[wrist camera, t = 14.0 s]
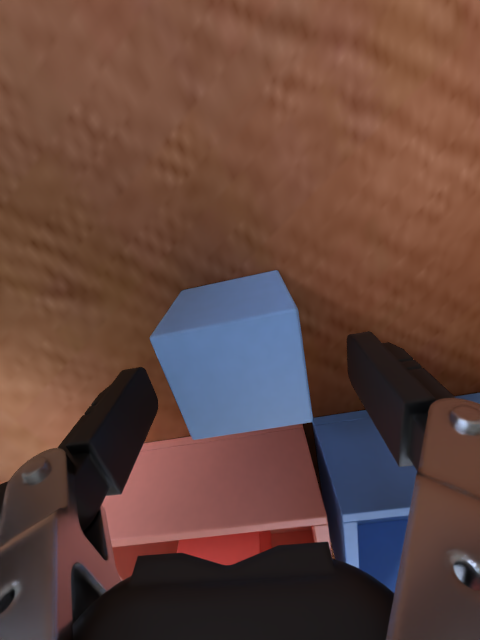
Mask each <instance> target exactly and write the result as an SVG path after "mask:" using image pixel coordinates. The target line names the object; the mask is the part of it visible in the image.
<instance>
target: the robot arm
mask: <svg viewBox="0 0 480 640" xmlns="http://www.w3.org/2000/svg"><path fill="white" fill-rule="evenodd" d="M347 363H348V375H349V379H350V382H351V384H352V386H353V388H354V390H355V392H356V393H357V395H358V397H359V398H360V400H361V402H362V404H363V405H364V407H365V409H366V411H367V412H368V414H369V416H370V417H371V419H372V421H373V423H374V424H375V426H376V428H377V430H378V431H379V433H380V435H381V436H382V438H383V440H384V442H385V443H386V445H387V447H388V449H389V450H390V452H391V454H392V455H393V457H394V459H395V461H396V462H397V464H398V466H399V467H404V466H414V467H415V469H416V470H417V474H416V478H415V483H414V489H413V494H412V500H411V505H410V511H409V516H408V522H407V527H406V533H405V538H404V543H403V549H402V554H401V560H400V565H399V571H398V576H397V582H396V587H395V593H393V592H392V591H391V590H390V589H389V588H388V587H387V586H385V585H384V584H382V583H381V582H380V581H378V580H377V579H375V578H374V577H373V576H371V575H370V574H368V573H366V572H364V571H362V570H361V569H359V568H357V567H355V566H352V565H350V564H348V563H345V562H342V561H339V560H335V559H332V555H331V551H330V547H329V543H328V542H315V543H302V544H289V545H278V546H276V547H273V548H271V549H268V550H266V551H264V552H261V553H259V554H256V555H254V556H252V557H249V558H247V559H245V560H242V561H240V562H237V563H235V564H232V565H222V564H219V563H215V562H212V561H209V560H205V559H202V558H198V557H195V556H192V555H188V554H185V553H169V554H156V555H143V556H138V557H137V560H136V563H135V567H134V570H133V573H132V576H130V577H128V578H126V579H124V580H123V581H121V579H120V577H119V575H118V572H117V569H116V565H115V560H114V555H113V550H112V544H111V539H110V533H109V528H108V522H107V517H106V512H105V508H104V507H103V506H102V503H103V501H104V499H105V496H111V495H120V494H122V492H123V490H124V487H125V485H126V483H127V480H128V478H129V476H130V473H131V471H132V469H133V467H134V464H135V462H136V460H137V457H138V455H139V453H140V450H141V448H142V446H143V443H144V441H145V439H146V437H147V434H148V432H149V430H150V427H151V425H152V423H153V420H154V418H155V416H156V414H157V411H158V398H157V395H156V393H155V391H154V388H153V386H152V384H151V381H150V379H149V377H148V374H147V372H146V370H145V369H144V368H142V367H139V368H133V369H127V370H123V371H121V372H120V374H119V375H118V376H117V378H116V379H115V380H114V382H113V383H112V384H111V385H110V386H109V387H107V388H106V389H105V390H104V391H102V392H101V393H100V394H99V395H98V397H97V398H96V399H95V400H94V402H93V403H92V404H91V405H92V406H90V407H89V408H88V409H87V411H86V412H85V415H83V416H82V417H81V418H80V420H79V421H78V422H77V423H76V425H75V426H74V427H73V429H72V430H71V431H70V432H69V434H68V435H67V436H66V438H65V439H64V440H63V441H62V443H61V444H60V445H59V447H58V448H53V449H49V450H46V451H44V452H42V453H40V454H38V455H36V456H34V457H33V458H31V459H30V460H29V461H27V462H26V463H25V464H23V465H22V466H21V467H20V468H19V469H18V470H17V471H16V472H15V473H14V475H13V476H12V477H11V479H10V480H9V481H8V482H5V483H3V484H0V640H480V404H479V403H476V402H473V401H469V400H465V399H460V398H455V397H454V396H453V395H452V394H451V393H450V392H449V391H448V390H447V389H446V388H445V387H443V386H442V385H441V384H440V383H439V382H438V381H437V380H436V379H435V378H434V377H433V376H432V375H431V374H429V373H428V372H427V371H426V370H425V369H424V368H422V367H421V365H420V364H419V363H418V362H417V361H415V360H413V358H412V357H411V356H410V355H409V354H408V353H407V352H406V351H405V350H404V349H402V348H400V347H398V346H396V345H393V344H391V343H389V342H387V343H381V342H380V341H379V339H378V338H377V337H376V336H375V335H374V334H373V333H372V332H370V331H368V332H362V333H356V334H350V335H348V336H347Z"/></svg>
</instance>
